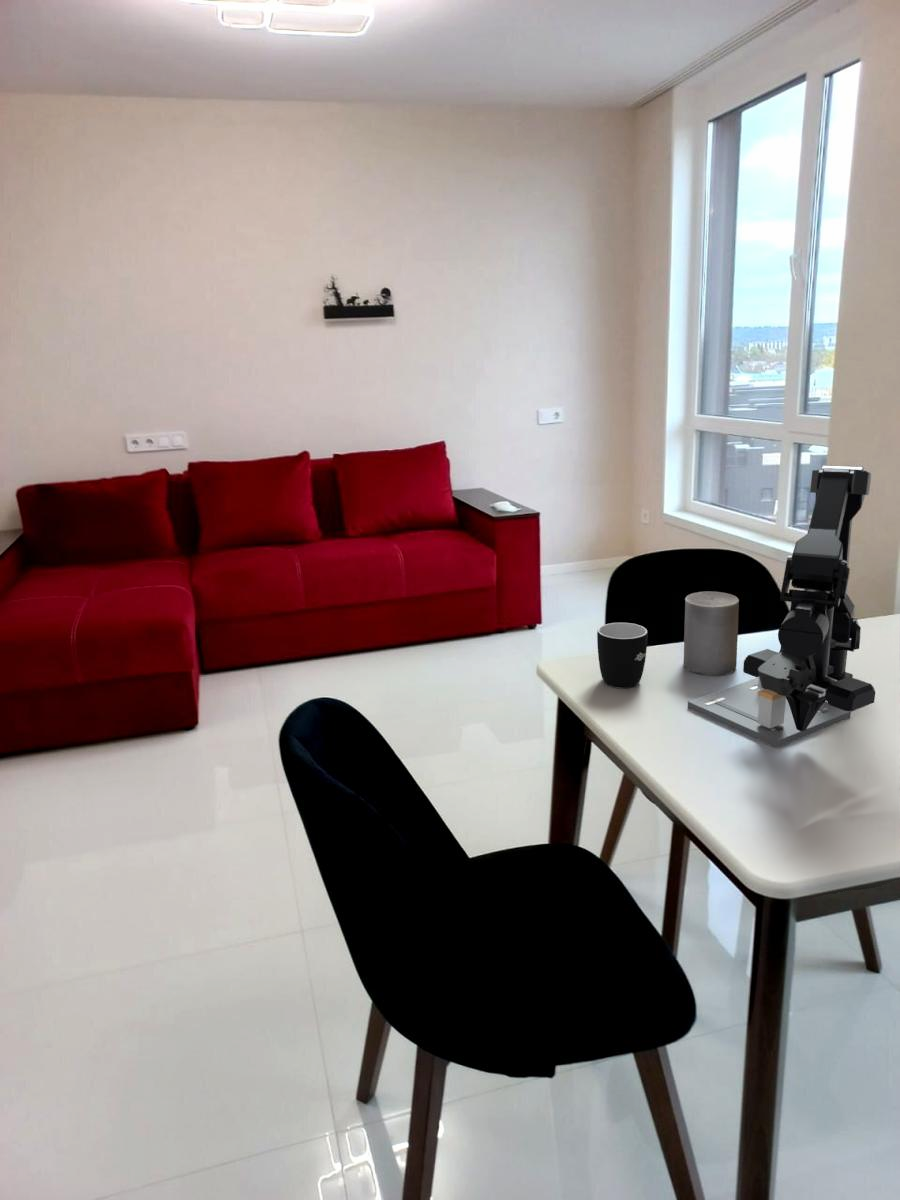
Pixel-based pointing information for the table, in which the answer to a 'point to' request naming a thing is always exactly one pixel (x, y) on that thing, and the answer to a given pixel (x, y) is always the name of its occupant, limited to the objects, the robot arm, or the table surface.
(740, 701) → the console
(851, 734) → the table surface
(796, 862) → the table surface
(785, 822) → the table surface
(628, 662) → the mug
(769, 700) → the fader
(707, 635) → the pillar candle
